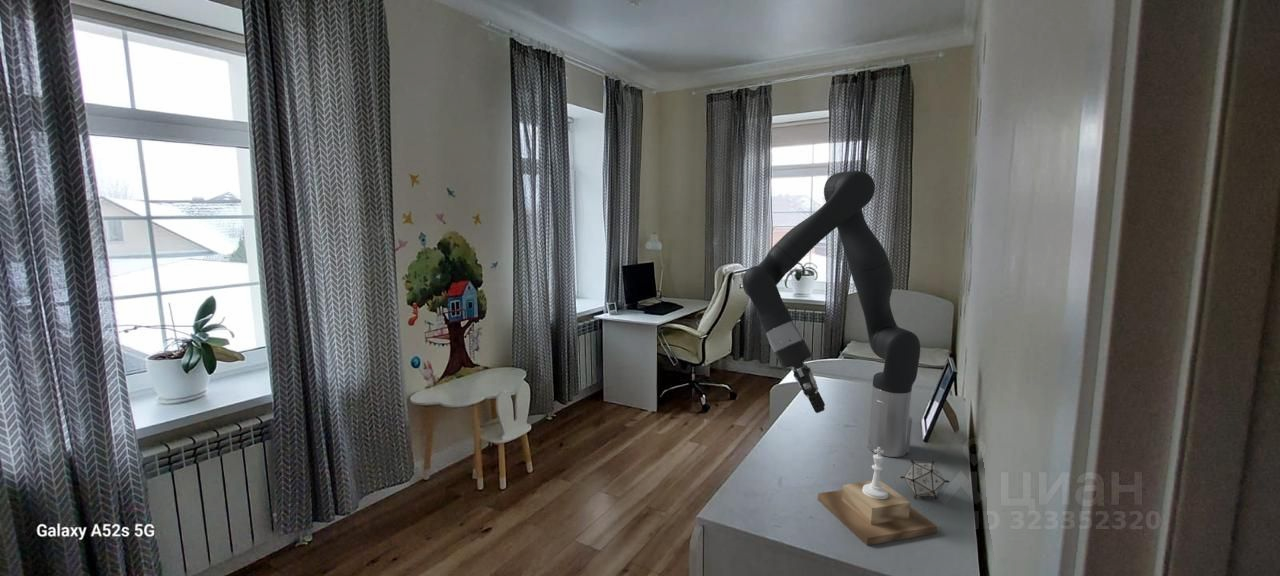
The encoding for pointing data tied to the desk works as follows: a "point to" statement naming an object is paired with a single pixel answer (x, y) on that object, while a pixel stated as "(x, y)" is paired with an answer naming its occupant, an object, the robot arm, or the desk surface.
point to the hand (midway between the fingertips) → (820, 409)
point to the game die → (924, 479)
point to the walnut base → (876, 529)
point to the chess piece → (876, 479)
